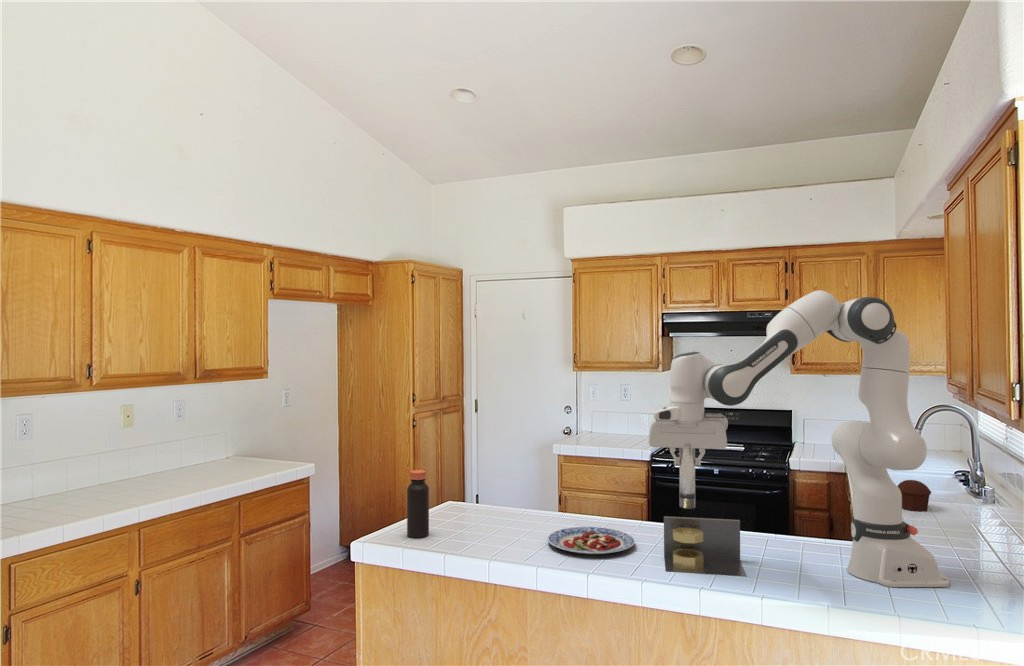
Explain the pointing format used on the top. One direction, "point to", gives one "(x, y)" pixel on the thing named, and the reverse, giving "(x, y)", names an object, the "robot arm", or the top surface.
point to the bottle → (417, 505)
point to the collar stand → (702, 546)
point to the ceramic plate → (591, 540)
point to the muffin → (914, 495)
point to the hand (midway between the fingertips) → (687, 464)
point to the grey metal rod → (687, 477)
